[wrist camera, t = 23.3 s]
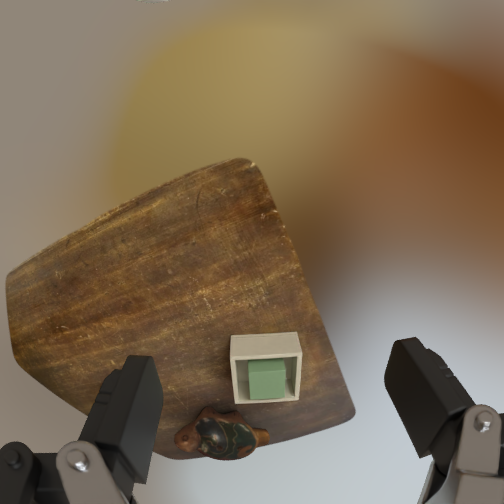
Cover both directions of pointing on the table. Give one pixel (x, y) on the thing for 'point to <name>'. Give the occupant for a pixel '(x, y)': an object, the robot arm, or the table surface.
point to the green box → (266, 378)
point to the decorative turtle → (220, 435)
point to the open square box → (263, 349)
